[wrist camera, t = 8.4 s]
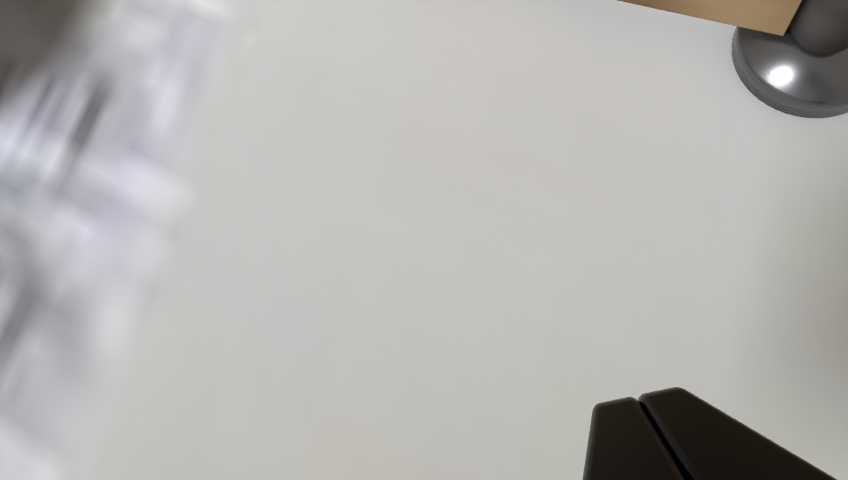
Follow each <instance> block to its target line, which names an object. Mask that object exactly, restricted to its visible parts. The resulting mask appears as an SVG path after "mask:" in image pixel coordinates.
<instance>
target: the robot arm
mask: <svg viewBox="0 0 848 480" xmlns="http://www.w3.org/2000/svg"><path fill="white" fill-rule="evenodd" d="M583 480H837V479H835V478H833V477H832V476H830V475H828V474H827V473H825V472H823V471H822V470H820V469H818V468H817V467H815V466H813V465H811V464H810V463H808V462H806V461H805V460H803V459H801V458H800V457H798V456H796V455H795V454H793V453H791V452H790V451H788V450H786V449H784V448H783V447H781V446H779V445H778V444H776V443H774V442H773V441H771V440H769V439H768V438H766V437H764V436H763V435H761V434H759V433H758V432H756V431H754V430H752V429H751V428H749V427H747V426H746V425H744V424H742V423H741V422H739V421H737V420H736V419H734V418H732V417H731V416H729V415H727V414H725V413H724V412H722V411H720V410H719V409H717V408H715V407H714V406H712V405H710V404H709V403H707V402H705V401H704V400H702V399H700V398H699V397H697V396H695V395H693V394H692V393H690V392H688V391H687V390H685V389H683V388H679V387H673V388H669V389H664V390H659V391H654V392H650V393H645V394H642V395H641V396H640V397H639V399H638V401H637V400H636V399H635V398H632V397H626V398H621V399H617V400H612V401H607V402H602V403H599V404H597V405H595V406H594V408H593V412H592V419H591V425H590V432H589V439H588V446H587V453H586V460H585V467H584V474H583Z"/></svg>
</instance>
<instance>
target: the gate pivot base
mask: <svg viewBox="0 0 848 480" xmlns="http://www.w3.org/2000/svg"><path fill="white" fill-rule="evenodd" d="M732 58H733V63H734V66H735V69H736V71H737V73H738V75H739V77H740V79H741V81H742V82H743V84H744V85H745V86H746V87H747V88H748V90H749V91H750V92H751V93H752V94H753V95H755V96H756V97H757V98H758V99H759V100H761V101H762V102H764V103H765V104H767V105H768V106H770V107H772V108H774V109H776V110H779V111H781V112H784V113H787V114H791V115H794V116H800V117H806V118H824V117H832V116H837V115H841V114H844V113H847V112H848V48H847V49H845V50H844V51H841V52H838V53H834V54H820V53H816V52H813V51H810V50H808V49H806V48H805V47H803V46H802V45H801V44H799V43H798V42H797V40H796V39H795V38H794V36H793V34H792V31H791V22H790V24H789V26H788V28H787V29H786V31H785V33H784V35H783V36H781V35H776V34H771V33H767V32H762V31H757V30H753V29H748V28H743V27H739V26H737V27H736V30H735V33H734V36H733V41H732Z"/></svg>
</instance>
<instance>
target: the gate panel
mask: <svg viewBox="0 0 848 480" xmlns="http://www.w3.org/2000/svg"><path fill="white" fill-rule="evenodd" d="M618 1H623V2H628V3H632V4H637V5H642V6H646V7H651V8H655V9H660V10H665V11H669V12H674V13H679V14H683V15H688V16H693V17H697V18H702V19H706V20H711V21H716V22H720V23H725V24H730V25H734V26H739V27H743V28H748V29H753V30H757V31H762V32H767V33H771V34H776V35H781V36H783V35H784V33H785V31H786V29H787V28H788V26H789V24H790V22H791V31H792V34H793V36H794V38H795V39H796V40H797V42H798V43H799V44H801V45H802V46H803V47H805V48H806V49H808V50H810V51H813V52H816V53H820V54H834V53H838V52H841V51H844V50H845V49H847V48H848V0H618Z"/></svg>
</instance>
